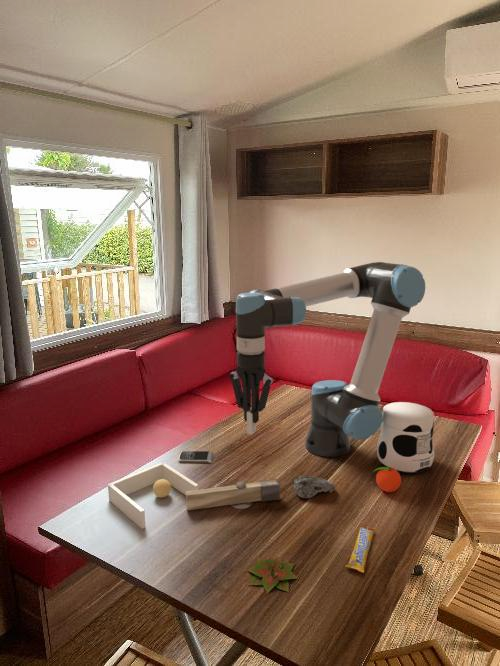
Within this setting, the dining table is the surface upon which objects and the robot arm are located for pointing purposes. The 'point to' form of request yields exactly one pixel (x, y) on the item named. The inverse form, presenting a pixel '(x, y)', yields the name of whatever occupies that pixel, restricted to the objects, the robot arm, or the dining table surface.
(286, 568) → the lily flower
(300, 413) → the dining table surface
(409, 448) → the milk container
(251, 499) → the lever
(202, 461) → the cell phone
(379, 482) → the clementine
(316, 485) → the fossilized seashell
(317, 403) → the robot arm
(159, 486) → the ball
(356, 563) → the candy bar
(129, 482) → the frame
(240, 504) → the pivot disc
